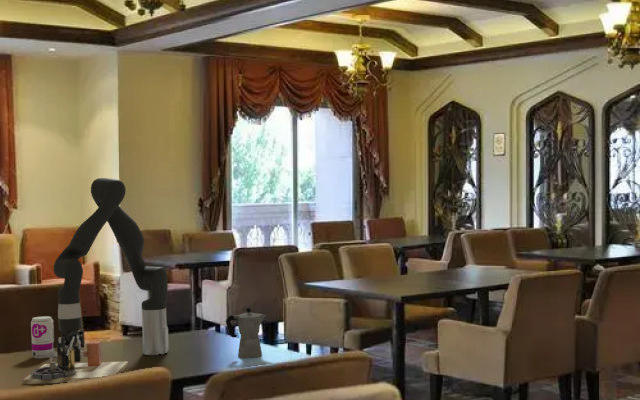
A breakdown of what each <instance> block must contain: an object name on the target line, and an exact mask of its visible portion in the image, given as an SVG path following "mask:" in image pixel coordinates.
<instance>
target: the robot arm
mask: <svg viewBox="0 0 640 400" xmlns="http://www.w3.org/2000/svg"><path fill="white" fill-rule="evenodd" d="M90 195H91V198H92V200H93V201H94V202H95V204H96V206H97V207H98V208H97V209H96V210H95V211H94V212H93V213H92V214H91V215H90V216H89V217H88V218H86V219H85V221H83V222H82V223H81V224H80V225H79V226H78V228H77V230H76V231H75V233H74V234H73V236H72V238H71V240H70V242H69V244H68V245H67V246H66V247H65V248H64V250H62V252H61V253H60V254H59V255H58V257H56V259H55V261H54V263H53V268H52V269H53V273H54V275H55V276H56V277H57V278H60V279H64V281H63V285H61V286H60V287H59V288H58V291H57V292H58V293H57V294H58V295H57V296H58V297H57V298H58V307H57V308H58V309H57V318H58V319H57V320H58V331H60V332H61V333H62V334H61V336H60V337H59V336H57V337H56V352H57V354H58V355H61V356H62V366H63V367H67V366H69V355H68V354H69V350H74V359H75V363H81V358H82V357H80V351H82V349H83V348H85V335H84V334H85V333H84V332H85V331H84V330H82V309H81V303H80V302H81V298H80V296H81V295H80V288H81V284H82V279H83V276H84V275H83V273H84V270H83V268H84V267H83V265H82V263H81V261H79V260H80V259H81V258H83V257H85V256H86V255H87V254H88V253H89V251H90V250H91V248H92V246H93V245H94V242H95V240H96V238H97V236H98V235H99V233H100V231H101V230H102V229H103V227H104V226H105V225H106V224H108V225H109V227H110V230H111V231H112V232H113V235H114V237H115V239H116V241H117V244H118V245H119V247H120V248H121V251H122V253H123V254H124V256H125V260H126V261H127V263H128V265H129V268H130V269H131V270H130V271H131V273H132V276H133V278H134V282H135V284H136V286H137V287H138V289H140V290H142V291H148V292H151V296H150V297H149V298H148V299H147V298H146V299H145V300H143V301H142V302H141V323H142V324H141V326H142V353H143V355H146V356H159V354H161V355H166V354H165V353H167V354H168V352H169V351H168V350H169V349H170V348H169V327H168V323H167V302H168V283H169V282H168V281H169V279H168V273H167V270H166V269H165V268H164V267H163V266H148V265H147V264H146V262H145V260H144V258H143V251H144V247H145V237H144V235H143V233H142V231H141V229H140V227H139V225H138V223H137V222H136V221H135V219H133V218H132V217H131V216H130V215H129V214H128V213H127V212H126V211H124V209H123V208H122V207H121V206H120V205H121V203H122V202H123V200H124V198H125V196H126V186H125V182H123V181H122V180H120V179H117V178H116V179H115V178H106V177H98V178H96V179H94V180H93V181H92V183H91V185H90ZM60 348H62V349H61V351H60ZM65 349H67V350H65Z"/></svg>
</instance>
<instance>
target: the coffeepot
mask: <svg viewBox="0 0 640 400" xmlns="http://www.w3.org/2000/svg"><path fill="white" fill-rule="evenodd" d="M251 310H252V309H251V307H247V308H246V312H244V313H240V314H233V315H232V314H231V315H228V317H227V318H226V320H225V324H226V326H227V329H228V332H229V334H230V336H231V338H237V336H238V334H234V329H233V325H232V323H231V322H232V321H237V327H238V332H239V334H240V339H239V344H238V345H239V346H238V352H237V353H238V354H237V357H239V358H242V359H252V358H253V359H254V358H258V357H261V356H262V355H263V352H262V347H261V341H260V338H259V334H260V328H261V325H262V323H263V321H264V319H265V318H266V317H267V315H266V314H264V313H256V312H251Z"/></svg>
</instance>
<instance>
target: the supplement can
mask: <svg viewBox="0 0 640 400" xmlns="http://www.w3.org/2000/svg"><path fill="white" fill-rule="evenodd" d="M54 331H55V330H54V319H53V318H52V316H48V315H44V316H43V315H42V316H36V317H35V316H33V317H32V319H31V322H30V332H31V334H30V335H31V356H32V357H33V358H34V359H50V358H49V352H55V335H54V334H55V333H54Z"/></svg>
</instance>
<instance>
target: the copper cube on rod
mask: <svg viewBox="0 0 640 400" xmlns="http://www.w3.org/2000/svg"><path fill="white" fill-rule="evenodd" d="M102 354H103V353H102V341H101V340H98V341H97V340H96V341H95V340H94V341H92V340H91V341H89V342H87V343H86V350H81V351H80V357H81V358H87V363H88V366H99V365H100V364H101V363H102V362H103V358H102ZM48 359H50V362H56V360H55V359H57V351H54V352H49V358H48ZM50 362H49V363H50Z"/></svg>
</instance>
